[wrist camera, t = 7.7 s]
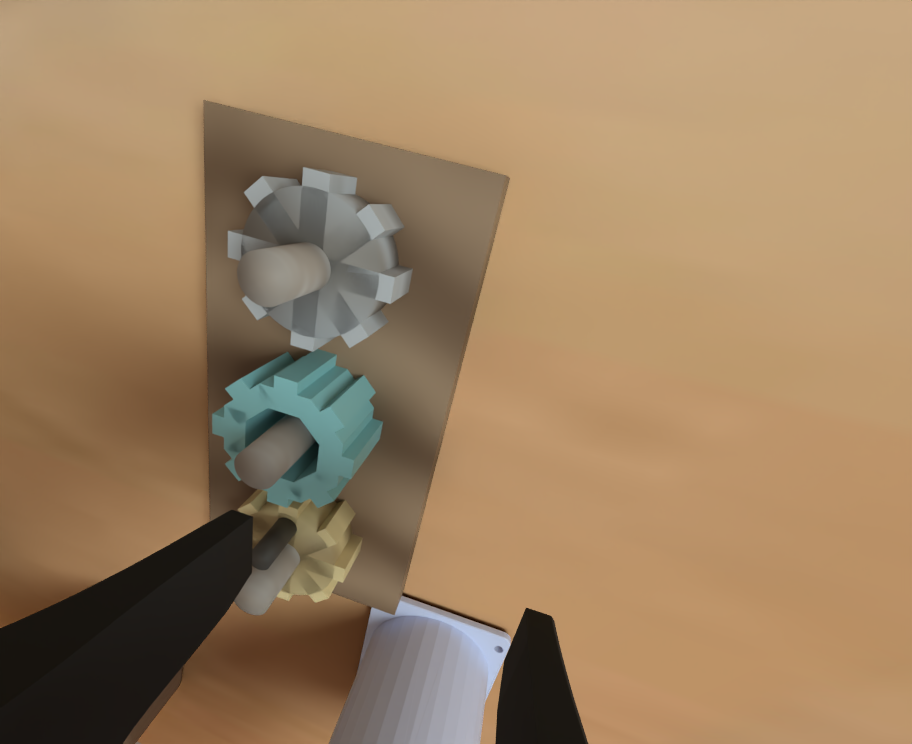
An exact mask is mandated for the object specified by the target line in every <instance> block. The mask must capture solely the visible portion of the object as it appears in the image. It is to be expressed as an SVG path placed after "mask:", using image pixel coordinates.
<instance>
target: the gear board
mask: <svg viewBox="0 0 912 744" xmlns="http://www.w3.org/2000/svg"><path fill="white" fill-rule="evenodd" d="M204 164H205V229H206V295H207V361H208V427H209V493H210V521H212V520H214V519H215V518H217V517H219V516H221V515H222V514H224V513H226V512H228V511H230V510H235V511H238V512H241V513H244V514H247V515H250V516H253V544H252V573H251V575H250V577H249V578H248V580H247V581H246V583H245V584H244V586H243V588H242V589H241V591H240V592H239V594H238V595H237V597H236V598H235V600H234V602H235V604H236V605H237V606H238V607H239V608H240V609H241V610H243V611H244V612H246V613H249V614H252V615H262V614H264V613H265V612H266V611H267V609H268V608H269V607H270V605H271V604H272V602H273V601H274V599H275V598H276V597H279V598H282V599H285V600H287V601H289V600H290V599H291V597H292V596H293V594H294V595H309V596H310V597H311V598H312V599H313V601H314V602H315V603H316V602H319V601H322V600H325V599H328V598H329V597H330V595H331V593H333V594H336V595H339V596H342V597H345V598H347V599H350V600H353V601H356V602H358V603H361V604H364V605H367V606H370V607H372V608H375V609H378V610H381V611H383V612H386V613H389V614H392V615H395V612H396V610H397V607H398V604H399V602H400V599H401V596H402V594H403V590H404V586H405V583H406V579H407V575H408V571H409V567H410V563H411V559H412V555H413V552H414V548H415V544H416V540H417V536H418V532H419V528H420V524H421V521H422V517H423V513H424V509H425V505H426V501H427V497H428V493H429V490H430V486H431V482H432V478H433V474H434V470H435V466H436V462H437V459H438V455H439V451H440V447H441V443H442V439H443V435H444V431H445V428H446V424H447V420H448V416H449V412H450V408H451V404H452V400H453V397H454V393H455V389H456V385H457V381H458V377H459V373H460V369H461V366H462V362H463V358H464V354H465V350H466V346H467V342H468V338H469V335H470V331H471V327H472V323H473V319H474V315H475V311H476V307H477V304H478V300H479V296H480V292H481V288H482V284H483V280H484V276H485V273H486V269H487V265H488V261H489V257H490V253H491V249H492V245H493V242H494V238H495V234H496V230H497V226H498V222H499V218H500V214H501V211H502V207H503V203H504V199H505V195H506V191H507V187H508V183H509V180H510V178H509V177H507V176H506V175H502V174H498V173H494V172H490V171H486V170H482V169H478V168H474V167H470V166H466V165H462V164H458V163H454V162H450V161H446V160H442V159H438V158H434V157H430V156H426V155H422V154H418V153H414V152H410V151H406V150H402V149H398V148H394V147H390V146H386V145H382V144H378V143H374V142H370V141H366V140H362V139H358V138H354V137H350V136H346V135H342V134H338V133H334V132H330V131H326V130H322V129H318V128H314V127H310V126H306V125H302V124H298V123H294V122H290V121H286V120H282V119H278V118H274V117H270V116H266V115H262V114H258V113H254V112H250V111H246V110H242V109H238V108H234V107H230V106H226V105H222V104H218V103H214V102H210V101H206V100H204ZM317 349H320V350H323V351H326V352H329V353H333V354H336V355H337V357H336V365H335V366H339V367H342V368H345V369H348V371H349V372H350V373H351V375H352V376H353V378H354V379H355V380H356V379H357V378H359V377H361V376H363V375H364V376H365V377H366V379H367V380H368V382H369V383H370V385H371V386H372V387H373V389H374V390H375V392H376V393H375V394H374V395H373V396H372V397H371V399H370V400H369V401H370V403H371V404H372V405H373V407H374V411H373V417H372V418H373V419H376V420H379V421H382V422H383V425H382V430H381V435H380V439H379V441H378V442H377V444H376V445H375V446H374V448H373V449H372V451H371V452H370V453H369V455H368V456H367V458H366V459H365V460H364V462H363V463H362V465H361V466H360V467H359V469H358V470H357V472H356V473H355V475H354V476H353V477H352V479H350V480H349V481H348V482H347V484H346V485H345V487H344V488H343V489H342V491H341V492H340V494H339V495H338V496H337V498H336V499H335V501H333V502H331V503H328V504H326V505H324V506H322V507H319V508H317V507H316V505H315V504H314V503H313V502H312V500H311V499H308V500H306V501H304V502H301V503H299V502H296V501H293V502H292V503H291V504H290V505H289V507H288V508H285V507H283V506H280V505H277V504H274V503H271V502H268V501H267V491H264V489H268V488H270V487H272V486H273V485H274V484H275V483H276V482H277V481H278V480H279V479H280V478H281V476H282V475H283V474H284V473H285V472H286V471H287V470H288V469H289V468H290V467H291V466H292V465H293V464H294V463H295V462H296V461H297V460H298V459H299V458H300V457H301V456H302V455H303V454H304V453H305V452H306V451H307V450H308V449H309V448H310V447H311V446H312V445H313V444H314V443H315V442H316V440H315V438H314V437H313V436H312V434H311V433H310V432H309V430H308V429H307V428H306V426H305V425H304V424H303V422H302V421H301V420H300V418H298V417H295V416H292V415H288V414H287V415H286V416H284V417H283V418H282V419H281V420H279V421H278V422H277V423H276V424H274V425H273V426H272V427H271V428H270V429H268V430H267V431H266V432H265V433H263V434H262V435H261V436H260V437H258V438H257V439H256V440H255V441H254V442H252V443H251V444H250V445H249V446H247V447H246V448H245V449H244V450H242V451H241V452H240V453H239V454H238V455H237V456H236V458H235V460H234V467H235V471H236V473H237V475H238V476H239V478H240V479H241V480H240V481H238V480H237V479H236V477H235V476H234V475H233V474H232V472H231V471H230V470H229V469H228V467H227V466H226V465H225V463H226V462H228V461H229V460H230V459H231V457H230V456H229V454H228V453H227V452H226V451H225V449H224V437H222V436H219V435H216V434H213V433H212V414H213V413H214V412H216V411H218V410H219V409H221V408H222V407H224V405H225V404H227V403H229V402H230V401H232V400H233V398H232V397H231V396H230V395H229V393H228V392H227V391H226V389H225V388H227V387H228V386H230V385H231V384H233V383H234V382H236V381H237V380H239V379H241V378H242V377H244V376H246V375H248V374H249V373H251V372H253V371H255V370H256V369H258V368H260V367H262V366H263V365H265V364H267V363H269V362H270V361H272V360H274V359H276V358H277V357H279V356H281V355H283V354H284V353H286V352H288V353H289V354H290V355H291V357H292V358H293V360H294V361H296V360H298V359H299V358H301V357H303V356H306V355H308V354H309V353H311V352H313V351H315V350H317Z"/></svg>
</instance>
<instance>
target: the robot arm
mask: <svg viewBox="0 0 912 744" xmlns="http://www.w3.org/2000/svg"><path fill="white" fill-rule="evenodd" d="M252 544H253V516H250V515H247V514H244V513H241V512H238V511H235V510H230V511H228V512H226V513H224V514H222V515H221V516H219V517H217V518H215V519H214V520H212V521H210V522H208V523H207V524H205V525H203V526H201V527H200V528H198V529H196V530H194V531H193V532H191V533H189V534H187V535H186V536H184V537H182V538H180V539H179V540H177V541H175V542H173V543H172V544H170V545H168V546H166V547H165V548H163V549H161V550H159V551H157V552H155V553H154V554H152V555H150V556H148V557H146V558H145V559H143V560H141V561H139V562H137V563H135V564H134V565H132V566H130V567H128V568H126V569H124V570H122V571H120V572H119V573H117V574H115V575H113V576H111V577H109V578H107V579H105V580H103V581H101V582H99V583H97V584H95V585H93V586H91V587H89V588H87V589H85V590H83V591H81V592H79V593H77V594H75V595H73V596H71V597H69V598H67V599H65V600H63V601H61V602H58V603H56V604H54V605H52V606H50V607H48V608H46V609H43V610H41V611H39V612H37V613H35V614H32V615H30V616H28V617H26V618H23V619H21V620H19V621H17V622H14V623H12V624H10V625H7V626H5V627H3V628H0V744H123V743H124V741H125V740H126V738H127V737H128V735H129V734H130V733H131V731H132V730H133V728H134V727H135V726H136V724H137V723H138V722H139V720H140V719H141V718H142V716H143V715H144V714H145V713H146V711H147V710H148V709H149V707H150V706H151V705H152V703H153V702H154V701H155V700H156V699H157V697H158V696H159V695H160V694H161V692H162V691H163V690H164V689H165V687H166V686H167V685H168V684H169V683H170V681H171V680H172V679H173V678H174V676H175V675H176V674H177V673H178V671H179V670H180V669H181V668H182V667H183V665H184V664H185V663H186V662H187V660H188V659H189V658H190V657H191V655H192V654H193V653H194V652H195V651H196V649H197V648H198V647H199V646H200V644H201V643H202V642H203V641H204V639H205V638H206V637H207V636H208V634H209V633H210V632H211V631H212V630H213V628H214V627H215V626H216V625H217V623H218V622H219V621H220V619H221V618H222V617H223V616H224V614H225V613H226V612H227V610H228V609H229V607H230V606H231V604H232V603H233V601H234V600H235V598H236V597H237V595H238V594H239V592H240V591H241V589H242V588H243V586H244V584H245V583H246V581H247V580H248V578H249V577H250V575H251V573H252ZM510 641H511V638H510V636H509V635H508V634H507V633H505V632H503V631H500V630H497V629H495V628H492V627H489V626H486V625H483V624H481V623H478V622H475V621H472V620H469V619H466V618H464V617H461V616H458V615H455V614H452V613H450V612H447V611H444V610H441V609H438V608H435V607H433V606H430V605H427V604H424V603H421V602H419V601H416V600H413V599H410V598H407V597H404V596H401V599H400V602H399V604H398V607H397V610H396V612H395V615H392V614H389V613H386V612H383V611H381V610H378V609H375V608H372V607H371V611H370V616H369V621H368V625H367V630H366V634H365V639H364V643H363V648H362V653H361V657H360V662H359V666H358V671H357V675H356V677H355V680H354V682H353V685H352V687H351V690H350V692H349V695H348V697H347V700H346V702H345V704H344V707H343V709H342V712H341V714H340V717H339V719H338V722H337V724H336V727H335V729H334V732H333V734H332V737H331V739H330V742H329V744H480V739H481V731H482V723H483V715H484V707H485V701H486V699H487V697H488V694H489V692H490V690H491V688H492V685H493V683H494V681H495V679H496V676H497V674H498V672H499V670H500V667H501V665H502V663H503V661H504V667H503V674H502V680H501V687H500V695H499V702H498V710H497V727H496V744H588V742H587V739H586V735H585V732H584V729H583V726H582V723H581V720H580V716H579V713H578V710H577V707H576V704H575V700H574V697H573V694H572V690H571V687H570V683H569V679H568V676H567V672H566V669H565V665H564V661H563V657H562V653H561V649H560V645H559V641H558V636H557V632H556V627H555V623H554V620H553V618H552V617H551V616H550V615H547V614H544V613H541V612H538V611H535V610H532V609H529V608H526V609H525V612H524V614H523V617H522V619H521V622H520V624H519V626H518V629H517V631H516V634H515V636H514V639H513V641H512V643H511V646H510ZM509 647H510V648H509ZM508 649H509V651H508ZM507 652H508V653H507ZM506 654H507V655H506ZM505 656H506V658H505ZM504 658H505V660H504Z"/></svg>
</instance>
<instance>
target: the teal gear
mask: <svg viewBox="0 0 912 744" xmlns="http://www.w3.org/2000/svg"><path fill="white" fill-rule="evenodd" d="M336 357H337V355H336V354H333V353H329V352H326V351H323V350H320V349H317V350H315V351H313V352H311V353H309V354H308V355H306V356H303V357H301V358H299V359H298V360H296V361H294V360H293V358H292V357H291V355H290V354H289V353H288V352H286V353H284V354H283V355H281V356H279V357H277V358H276V359H274V360H272V361H270V362H269V363H267V364H265V365H263V366H262V367H260V368H258V369H256V370H255V371H253V372H251V373H249V374H248V375H246V376H244V377H242V378H241V379H239V380H237V381H236V382H234V383H233V384H231V385H230V386H228V387H227V388H225V389H226V391H227V392H228V393H229V395H230V396H231V397H232V398H233V400H232V401H230V402H229V403H227V404H225V405H224V407H222V408H221V409H219V410H218V411H216V412H214V413H213V414H212V433H213V434H216V435H219V436H222V437H224V449H225V451H226V452H227V453H228V454H229V456H230V457H231V459H230V460H229V461H228V462H226V463H225V465H226V466H227V467H228V469H229V470H230V471H231V472H232V474H233V475H234V476H235V477H236V479H237V480H238V481H240V480H241V479H240V478H239V476H238V475H237V473H236V471H235V467H234V460H235V458H236V456H237V455H238V454H239V453H240V452H241V451H242V450H244V449H245V448H246V447H247V446H249V445H250V444H251V443H252V442H254V441H255V440H256V439H257V438H258V437H260V436H261V435H262V434H263V433H265V432H266V431H267V430H268V429H270V428H271V427H272V426H273V425H274V424H276V423H277V422H278V421H279V420H281V419H282V418H283V417H284V416H286V415H287V414H288V415H292V416H295V417H298V418H300V420H301V421H302V422H303V424H304V425H305V426H306V428H307V429H308V430H309V432H310V433H311V434H312V436H313V437H314V438H315V440H316V442H315V443H314V444H313V445H312V446H311V447H310V448H309V449H308V450H307V451H306V452H305V453H304V454H303V455H302V456H301V457H300V458H299V459H298V460H297V461H296V462H295V463H294V464H293V465H292V466H291V467H290V468H289V469H288V470H287V471H286V472H285V473H284V474H283V475H282V476H281V478H280V479H279V480H278V481H277V482H276V483H275V484H274V485H273V486H272V487H270V488H268V489H264V491H267V501H268V502H271V503H274V504H277V505H280V506H283V507H285V508H288V507H289V505H290V504H291V503H292V502H293V501H296V502H299V503H301V502H304V501H306V500H308V499H311V500H312V502H313V503H314V504H315V505H316V507H317V508H319V507H322V506H324V505H326V504H328V503H331V502H333V501H335V499H336V498H337V496H338V495H339V494H340V492H341V491H342V489H343V488H344V487H345V485H346V484H347V482H348V481H349V480H350V479H352V477H353V476H354V475H355V473H356V472H357V470H358V469H359V467H360V466H361V465H362V463H363V462H364V460H365V459H366V458H367V456H368V455H369V453H370V452H371V451H372V449H373V448H374V446H375V445H376V444H377V442H378V441H379V439H380V435H381V430H382V425H383V422H382V421H379V420H376V419H373V418H372V417H373V411H374V407H373V405H372V404H371V403H370V401H369V400H370V399H371V397H372V396H373V395H374V394H375V393H376V392H375V390H374V389H373V387H372V386H371V385H370V383H369V382H368V380H367V379H366V377H365V376H364V375H363V376H361V377H359V378H357V379H356V380H355V379H354V378H353V376H352V375H351V373H350V372H349V371H348V369H345V368H342V367H339V366H335V365H336Z"/></svg>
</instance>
